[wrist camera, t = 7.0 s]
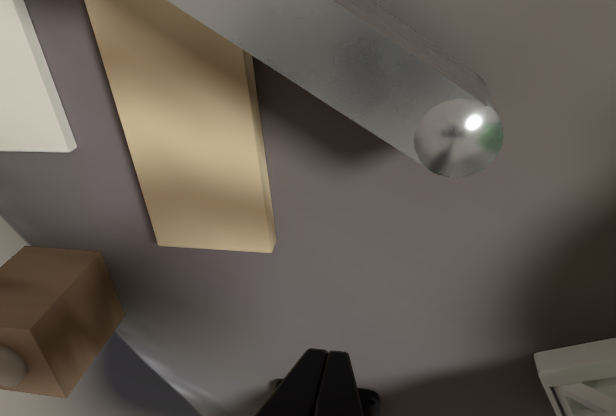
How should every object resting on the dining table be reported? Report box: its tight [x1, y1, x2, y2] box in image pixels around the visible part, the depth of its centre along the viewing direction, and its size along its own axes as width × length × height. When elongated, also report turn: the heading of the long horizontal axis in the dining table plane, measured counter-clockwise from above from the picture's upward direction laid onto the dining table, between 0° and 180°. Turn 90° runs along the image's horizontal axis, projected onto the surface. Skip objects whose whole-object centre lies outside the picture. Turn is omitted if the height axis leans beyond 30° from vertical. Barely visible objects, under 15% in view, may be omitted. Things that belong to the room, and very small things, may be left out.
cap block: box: [0, 246, 125, 398], centre depth 26 cm, size 5×5×7 cm
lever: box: [167, 0, 503, 177], centre depth 14 cm, size 16×3×4 cm, turn 60°
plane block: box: [84, 0, 277, 253], centre depth 19 cm, size 17×6×1 cm, turn 4°
